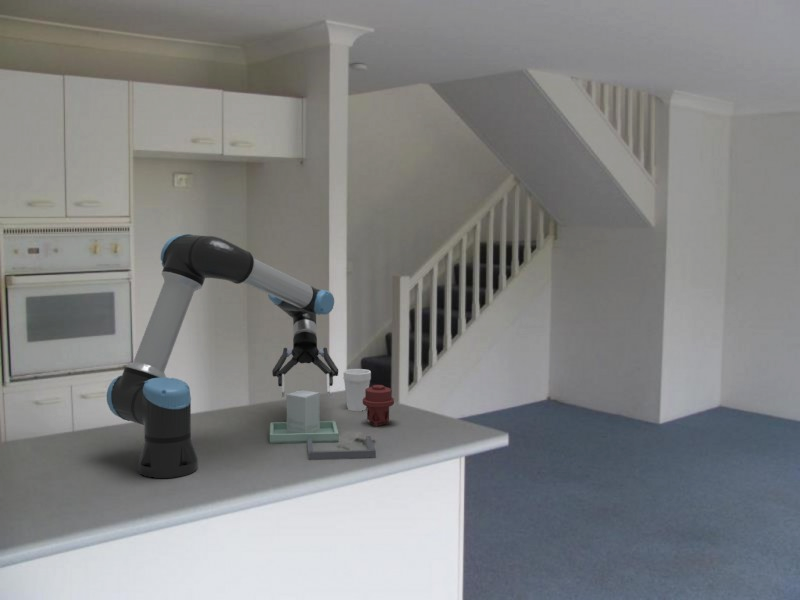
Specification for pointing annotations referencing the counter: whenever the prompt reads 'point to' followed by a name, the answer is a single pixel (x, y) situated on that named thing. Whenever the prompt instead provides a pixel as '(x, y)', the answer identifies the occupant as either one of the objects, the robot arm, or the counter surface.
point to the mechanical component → (378, 404)
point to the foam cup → (356, 387)
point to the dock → (342, 452)
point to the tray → (280, 433)
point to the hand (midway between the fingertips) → (305, 394)
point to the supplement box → (303, 412)
